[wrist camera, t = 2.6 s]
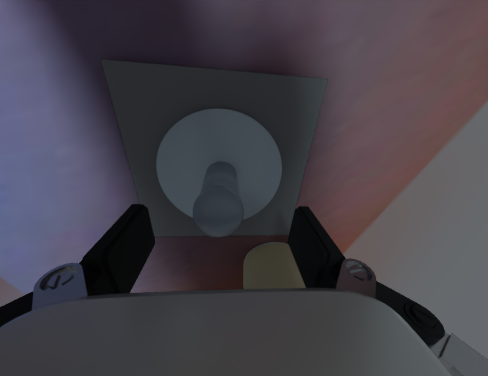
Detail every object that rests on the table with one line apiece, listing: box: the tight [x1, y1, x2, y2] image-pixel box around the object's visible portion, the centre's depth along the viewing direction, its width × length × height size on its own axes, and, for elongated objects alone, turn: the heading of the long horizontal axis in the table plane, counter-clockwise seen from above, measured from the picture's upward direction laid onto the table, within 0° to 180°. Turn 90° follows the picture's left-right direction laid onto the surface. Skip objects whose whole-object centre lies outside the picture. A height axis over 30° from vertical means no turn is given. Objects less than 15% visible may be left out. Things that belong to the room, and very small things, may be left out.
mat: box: [101, 59, 328, 237], centre depth 16 cm, size 16×16×1 cm
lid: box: [156, 108, 282, 237], centre depth 13 cm, size 11×11×8 cm
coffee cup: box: [243, 242, 306, 289], centre depth 19 cm, size 9×9×12 cm
